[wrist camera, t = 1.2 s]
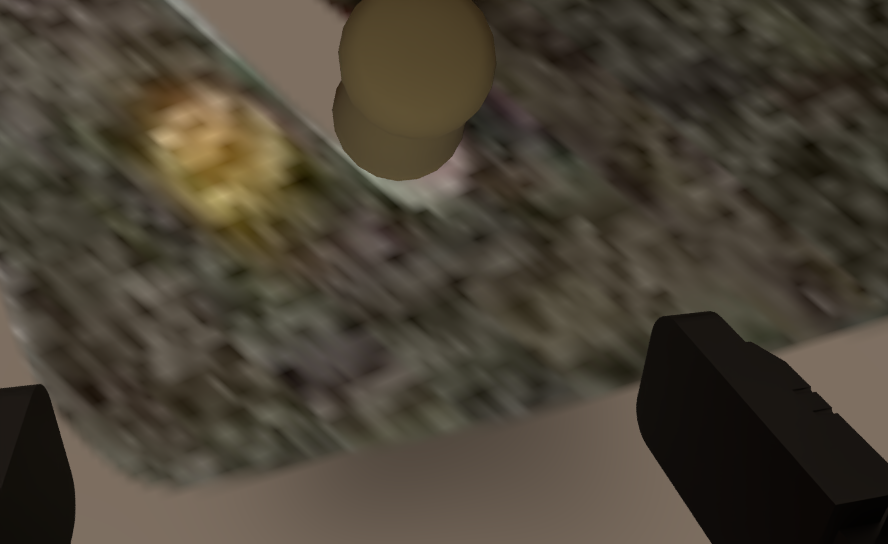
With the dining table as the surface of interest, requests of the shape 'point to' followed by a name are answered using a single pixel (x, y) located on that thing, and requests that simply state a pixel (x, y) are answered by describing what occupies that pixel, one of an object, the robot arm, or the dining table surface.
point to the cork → (410, 83)
